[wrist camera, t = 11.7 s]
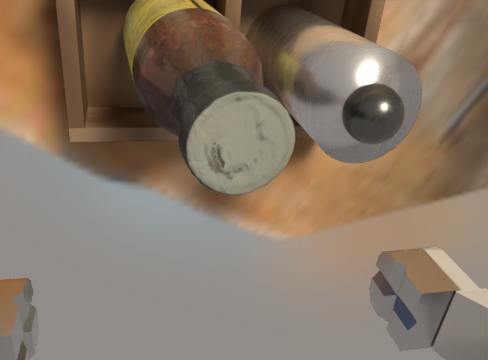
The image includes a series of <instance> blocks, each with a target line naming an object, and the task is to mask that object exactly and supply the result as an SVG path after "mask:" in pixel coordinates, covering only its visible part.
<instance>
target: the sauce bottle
mask: <svg viewBox="0 0 488 360" xmlns="http://www.w3.org/2000/svg"><path fill="white" fill-rule="evenodd" d="M123 39H124V45H125V49H126V53H127V57H128V61H129V66H130V70H131V74H132V78H133V82H134V86H135V89H136V92H137V95H138V97H139V100H140V102H141V104H142V106H143V107H144V109H145V111H146V112H147V113H148V115H149V116H150V117H151V118H152V120H153V121H155V122H156V123H157V124H158V125H159V126H160V127H162V128H163V129H165V130H166V131H168V132H170V133H172V134H174V135H177V136H179V137H178V139H179V147H180V151H181V153H182V155H183V158H184V160H185V162H186V164H187V166H188V167H189V169H190V171H191V172H192V174H193V175H194V176H195V177H196V178H197V179H198V180H199V181H200V183H201V184H203V185H205V186H206V187H208V188H210V189H212V190H214V191H216V192H221V193H224V194H227V195H239V194H245V193H249V192H252V191H254V190H257V189H259V188H261V187H263V186H265V185H267V184H268V183H269V182H271V181H272V180H273V179H274V178H275V177H277V176H278V175H279V174H280V172H281V171H282V170H283V169H284V168H285V167H286V165H287V164H288V162H289V159H290V157H291V155H292V153H293V149H294V145H295V129H294V123H293V120H292V118H291V115H290V113H289V111H288V109H287V108H286V107H285V106H284V105H283V104H282V102H281V101H280V100H279V99H278V98H277V97H276V96H275V94H274V93H273V92H271V91H270V90H269V89H268V88H266V87H265V86H263V76H262V65H261V63H260V59H259V57H258V55H257V52H256V50H255V48H254V46H253V45H252V44H251V43H250V42H249V40H248V39H247V38H246V37H245V36H244V35H243V34H242V33H241V32H240V31H239V30H238V29H237V28H236V27H235V26H234V25H233V24H232V23H231V22H230V21H229V20H228V19H227V18H225V17H224V16H223V15H221V14H220V13H219V12H217V11H216V10H215V9H214V8H212V7H211V6H210V5H208V4H207V3H205V2H204V1H203V0H133V3H132V4H131V6H130V8H129V10H128V12H127V14H126V17H125V21H124V26H123Z"/></svg>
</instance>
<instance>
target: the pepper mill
mask: <svg viewBox="0 0 488 360" xmlns="http://www.w3.org/2000/svg"><path fill="white" fill-rule="evenodd" d="M246 38H247V39H248V40H249V42H250V43H251V44H252V45H253V46H254V48H255V50H256V52H257V55H258V57H259V59H260V63H261V65H262V76H263V84H264V85H265V86H266V87H267V88H268V89H269V90H270V91H271V92H273V93H274V94H275V96H276V97H277V98H278V99H279V100H280V101H281V102H282V104H283V105H284V106H285V107H286V108H287V109H288V111H289V113H290V114H291V115H292V116H293V118H294V119H295V120H296V121H297V122H298V123H299V124H300V125H301V126H302V128H303V129H304V130H305V131H306V132H307V133H308V134H309V135H310V137H311V138H312V139H313V140H314V141H315V142H316V143H317V144H318V145H319V147H320V148H321V149H322V150H323V151H324V152H325V153H326V154H327V155H329V156H330V157H332V158H334V159H336V160H338V161H341V162H346V163H363V162H367V161H371V160H374V159H377V158H379V157H381V156H383V155H385V154H386V153H388V152H389V151H391V150H392V149H393V148H395V147H396V146H397V145H398V144H399V143H400V142H401V141H402V140H403V139H404V138H405V137H406V135H407V134H408V133H409V131H410V130H411V128H412V126H413V125H414V123H415V121H416V119H417V116H418V113H419V110H420V106H421V100H422V87H421V82H420V78H419V75H418V73H417V71H416V69H415V68H414V67H413V65H412V64H411V63H410V62H409V61H408V60H407V59H406V58H404V57H403V56H401V55H399V54H397V53H395V52H393V51H390V50H388V49H386V48H384V47H382V46H380V45H378V44H376V43H374V42H372V41H369V40H367V39H365V38H363V37H361V36H359V35H357V34H355V33H353V32H351V31H348V30H346V29H344V28H342V27H340V26H338V25H336V24H334V23H332V22H330V21H327V20H325V19H323V18H321V17H319V16H317V15H315V14H313V13H311V12H309V11H306V10H304V9H302V8H300V7H298V6H295V5H290V4H281V5H276V6H273V7H271V8H268V9H267V10H265V11H263V12H262V13H261V14H260V15H259V16H258V17H257V18H256V19H255V20H254V21H253V23H252V24H251V26H250V28H249V30H248V32H247V35H246Z"/></svg>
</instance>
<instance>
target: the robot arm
mask: <svg viewBox="0 0 488 360" xmlns="http://www.w3.org/2000/svg"><path fill="white" fill-rule="evenodd" d="M376 265H377V267H378V269H379V272H378V273H377V274H376V275H375V276H374V277H373V278H372V281H371V284H370V288H369V289H370V300H371V303H372V305H373V308H374V310H375V311H376V313H377V315H378V316H380V317H382V318H383V319H385V320H386V321H388V325H387V330H388V332H389V333H390V335H391V337H392V338H393V340H394V341H395V343H396V344H397V346H398V347H399V349H400V350H411V349H420V348H430V347H432V350H434V351H435V352H436V353H438V354H439V355H440V356H442V357H443V358H444V359H446V360H488V289H486V288H484V289H480V288H479V287H478V286H477V285H476V284H475V283H474V282H473V281H472V280H471V279H470V278H469V277H468V276H467V275H466V274H465V273H464V272H463V271H462V270H461V269H460V268H459V266H458V265H457V264H456V263H455V262H454V261H453V260H452V259H451V258H450V257H449V256H448V255H447V254H446V253H445V252H444V251H443V250H442V249H440V248H438V247H428V248H418V249H409V250H398V251H385V252H382V253H381V254H380V256H379V257H378V260H377V263H376ZM32 296H33V288H32V284H31V280H29V279H28V278H22V279H4V280H0V360H29V359H30V358H31V357H32V356H33V355H34V354H35V351H36V346H37V339H38V338H37V337H38V316H37V310H36V308H35V307H34V306H32V305H31V301H32Z"/></svg>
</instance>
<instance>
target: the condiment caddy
mask: <svg viewBox="0 0 488 360" xmlns="http://www.w3.org/2000/svg"><path fill="white" fill-rule="evenodd" d="M203 1H204V2H205V3H207V4H208V5H210V6H211V7H212V8H214V9H215V10H216V11H217V12H219V13H220V14H221V15H223V16H224V17H225V18H227V19H228V20H229V21H230V22H231V23H232V24H233V25H234V26H235V27H236V28H237V29H238V30H239V31H240V32H241V33H242V34H243V35H244V36H245V37H246V35H247V32H248V30H249V28H250V26H251V24H252V23H253V21H254V20H255V19H256V18H257V17H258V16H259V15H260V14H261V13H262V12H263V11H265V10H267V9H268V8H271V7H273V6H276V5H281V4H290V5H295V6H298V7H300V8H302V9H304V10H306V11H309V12H311V13H313V14H315V15H317V16H319V17H321V18H323V19H325V20H327V21H330V22H332V23H334V24H336V25H338V26H340V27H342V28H344V29H346V30H348V31H351V32H353V33H355V34H357V35H359V36H361V37H363V38H365V39H367V40H369V41H372V42H374V43H376V40H377V36H378V31H379V27H380V22H381V18H382V13H383V9H384V4H385V0H203ZM132 3H133V0H56V9H57V19H58V29H59V39H60V48H61V58H62V68H63V78H64V88H65V98H66V108H67V117H68V127H69V137H70V142H115V141H179V139H178V137H179V136H177V135H174V134H172V133H170V132H168V131H166V130H165V129H163V128H162V127H160V126H159V125H158V124H157V123H156V122H155V121H153V120H152V118H151V117H150V116H149V115H148V113H147V112H146V111H145V109H144V107H143V106H142V104H141V102H140V100H139V97H138V95H137V92H136V89H135V86H134V82H133V78H132V74H131V70H130V66H129V61H128V57H127V53H126V49H125V45H124V39H123V26H124V21H125V17H126V14H127V12H128V10H129V8H130V6H131V4H132ZM263 86H265V85H264V84H263ZM265 87H266V86H265ZM266 88H267V87H266ZM290 115H291V114H290ZM291 118H292V120H293V123H294V129H295V139H312V138H311V137H310V135H309V134H308V133H307V132H306V131H305V130H304V129H303V128H302V126H301V125H300V124H299V123H298V122H297V121H296V120H295V119H294V118H293V116H292V115H291Z"/></svg>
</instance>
